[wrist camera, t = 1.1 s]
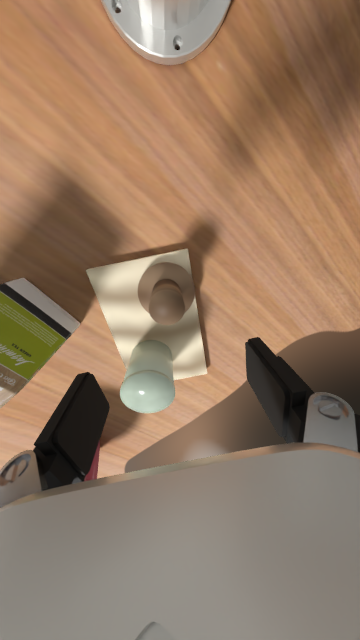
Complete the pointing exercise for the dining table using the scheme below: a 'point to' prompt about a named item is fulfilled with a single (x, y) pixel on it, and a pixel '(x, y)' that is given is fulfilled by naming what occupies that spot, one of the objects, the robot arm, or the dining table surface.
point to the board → (136, 323)
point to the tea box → (28, 334)
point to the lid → (166, 292)
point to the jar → (149, 378)
